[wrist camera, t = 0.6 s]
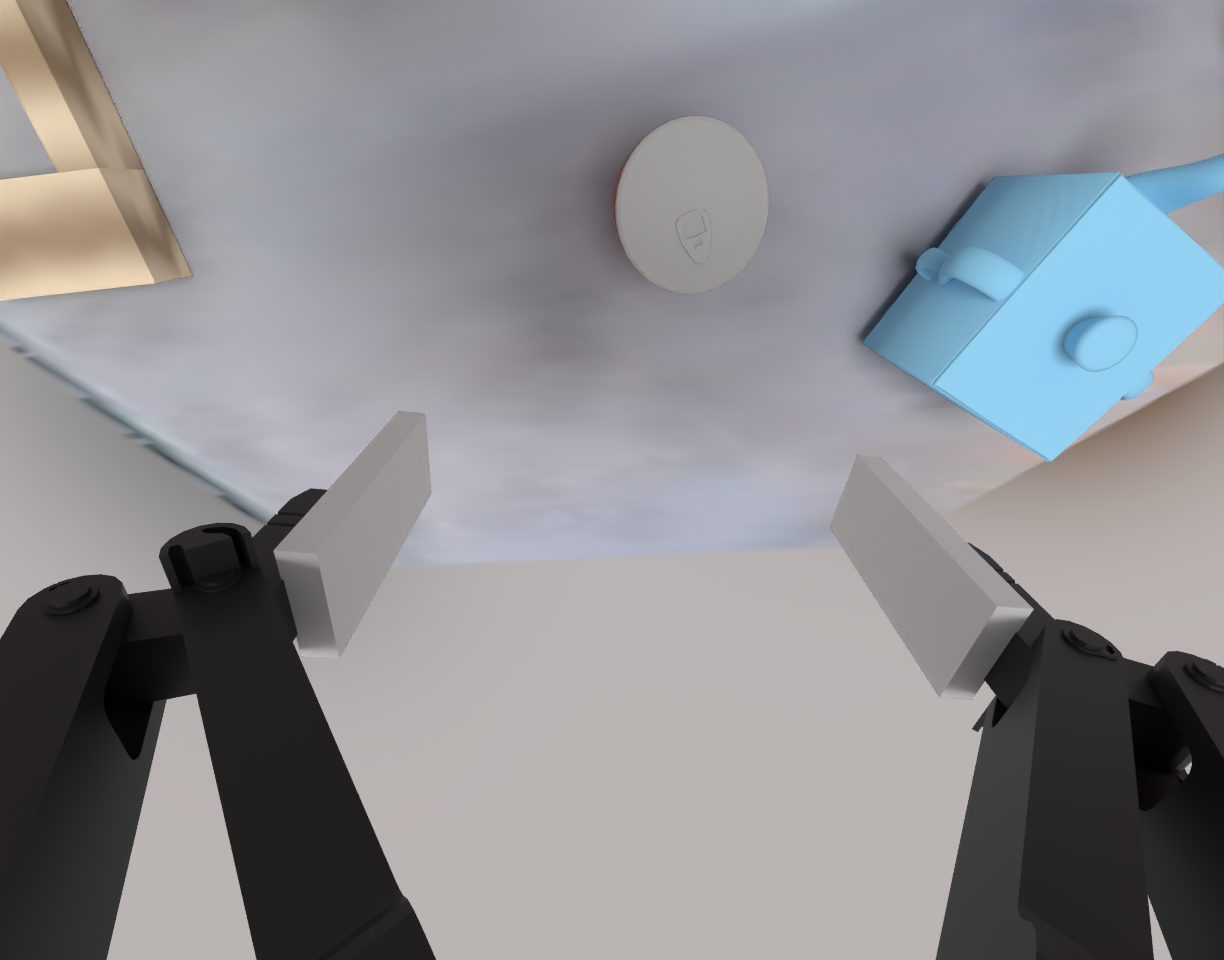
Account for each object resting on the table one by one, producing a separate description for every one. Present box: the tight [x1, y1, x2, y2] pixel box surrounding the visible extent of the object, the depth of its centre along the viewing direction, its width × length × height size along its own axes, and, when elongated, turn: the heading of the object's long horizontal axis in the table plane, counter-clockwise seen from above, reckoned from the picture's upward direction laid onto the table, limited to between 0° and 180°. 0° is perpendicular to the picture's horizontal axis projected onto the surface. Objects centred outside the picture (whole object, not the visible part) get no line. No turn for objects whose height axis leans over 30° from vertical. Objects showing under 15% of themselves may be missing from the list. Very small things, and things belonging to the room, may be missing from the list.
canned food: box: [613, 116, 769, 294], centre depth 31 cm, size 8×8×11 cm
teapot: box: [862, 154, 1224, 462], centre depth 32 cm, size 18×16×13 cm
